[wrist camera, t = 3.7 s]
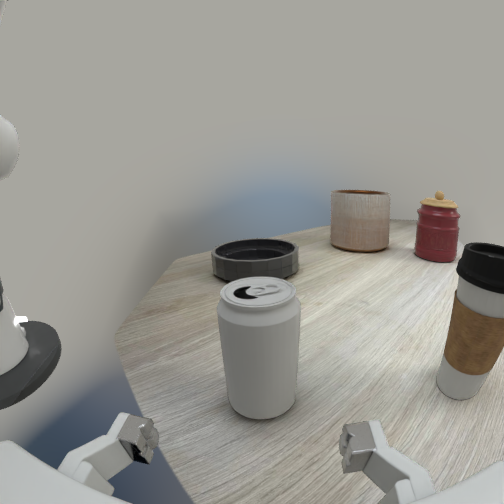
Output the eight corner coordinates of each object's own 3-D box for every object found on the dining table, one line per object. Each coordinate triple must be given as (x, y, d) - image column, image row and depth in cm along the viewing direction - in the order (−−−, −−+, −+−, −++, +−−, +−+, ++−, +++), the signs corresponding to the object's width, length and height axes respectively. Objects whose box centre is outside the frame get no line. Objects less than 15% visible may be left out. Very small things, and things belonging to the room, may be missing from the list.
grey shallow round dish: (211, 289, 51) (208, 264, 49) (215, 260, 68) (213, 241, 67) (308, 281, 52) (308, 257, 50) (288, 255, 70) (288, 236, 68)
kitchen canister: (413, 247, 70) (416, 187, 65) (452, 252, 63) (457, 192, 58) (413, 259, 60) (418, 189, 55) (458, 265, 53) (465, 194, 48)
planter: (395, 243, 75) (397, 192, 71) (375, 257, 64) (378, 195, 59) (347, 235, 88) (347, 189, 83) (318, 246, 76) (318, 191, 72)
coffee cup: (423, 405, 19) (470, 256, 15) (427, 356, 26) (453, 233, 22) (491, 410, 14) (549, 267, 10) (483, 362, 21) (517, 242, 17)
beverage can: (224, 385, 26) (210, 279, 22) (283, 373, 27) (283, 269, 24) (236, 430, 20) (220, 314, 16) (305, 413, 21) (315, 298, 18)
